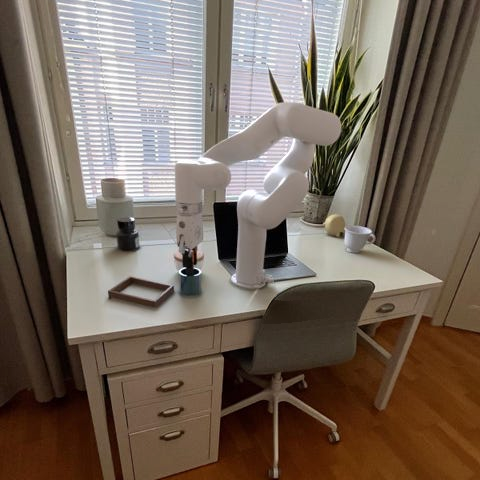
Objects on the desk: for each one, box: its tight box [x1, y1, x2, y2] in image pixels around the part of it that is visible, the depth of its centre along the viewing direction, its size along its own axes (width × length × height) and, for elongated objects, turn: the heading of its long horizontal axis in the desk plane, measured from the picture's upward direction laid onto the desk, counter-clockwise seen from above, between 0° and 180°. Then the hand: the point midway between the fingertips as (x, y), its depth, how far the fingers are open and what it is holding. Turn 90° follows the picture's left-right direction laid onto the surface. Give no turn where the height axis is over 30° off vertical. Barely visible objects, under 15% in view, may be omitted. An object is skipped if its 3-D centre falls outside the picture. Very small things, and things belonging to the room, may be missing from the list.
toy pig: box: [322, 213, 346, 238], centre depth 176 cm, size 10×12×11 cm
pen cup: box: [178, 268, 202, 297], centre depth 114 cm, size 7×7×8 cm
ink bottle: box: [115, 216, 141, 252], centre depth 143 cm, size 10×9×12 cm
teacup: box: [344, 224, 376, 254], centre depth 157 cm, size 12×15×10 cm
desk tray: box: [107, 275, 175, 309], centre depth 111 cm, size 17×12×3 cm
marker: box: [186, 250, 194, 276], centre depth 112 cm, size 2×2×14 cm
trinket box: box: [173, 249, 205, 273], centre depth 126 cm, size 11×11×9 cm
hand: (189, 265), depth 111 cm, fingers closed on marker, 2 cm apart
